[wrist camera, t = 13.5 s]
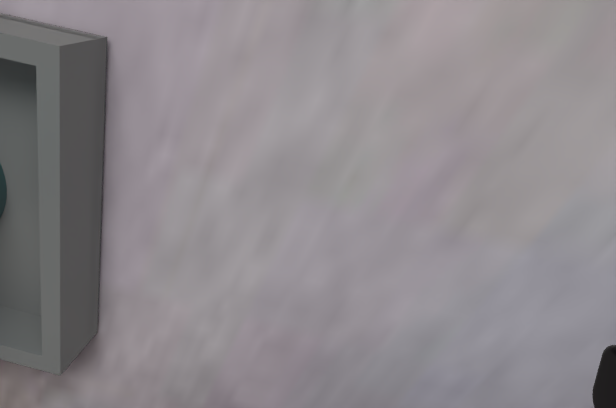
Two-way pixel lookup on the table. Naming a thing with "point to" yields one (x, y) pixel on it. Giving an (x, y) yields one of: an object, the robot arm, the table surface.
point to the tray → (50, 190)
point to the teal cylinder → (2, 191)
